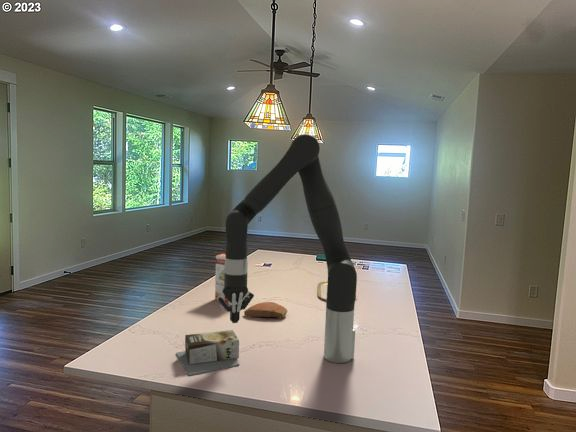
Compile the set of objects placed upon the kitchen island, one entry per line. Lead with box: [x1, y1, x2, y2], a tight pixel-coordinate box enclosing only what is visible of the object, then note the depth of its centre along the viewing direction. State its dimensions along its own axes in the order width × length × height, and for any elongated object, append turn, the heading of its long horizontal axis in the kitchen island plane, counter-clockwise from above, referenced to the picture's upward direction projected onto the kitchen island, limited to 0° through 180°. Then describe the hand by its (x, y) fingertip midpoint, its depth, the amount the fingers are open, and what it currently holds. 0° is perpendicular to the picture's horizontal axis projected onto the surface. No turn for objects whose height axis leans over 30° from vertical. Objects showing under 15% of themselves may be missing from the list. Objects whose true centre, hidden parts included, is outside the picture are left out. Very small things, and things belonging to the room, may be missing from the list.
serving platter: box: [317, 280, 328, 301], centre depth 214 cm, size 19×35×2 cm, turn 176°
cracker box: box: [214, 253, 245, 303], centre depth 194 cm, size 14×6×21 cm, turn 62°
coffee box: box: [184, 329, 240, 365], centre depth 138 cm, size 9×6×16 cm
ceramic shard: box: [243, 301, 288, 319], centre depth 178 cm, size 15×6×15 cm
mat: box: [175, 350, 240, 377], centre depth 136 cm, size 16×16×1 cm
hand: (234, 322), depth 139 cm, fingers closed
